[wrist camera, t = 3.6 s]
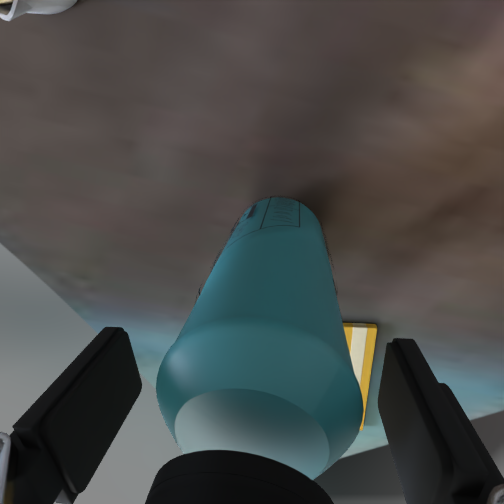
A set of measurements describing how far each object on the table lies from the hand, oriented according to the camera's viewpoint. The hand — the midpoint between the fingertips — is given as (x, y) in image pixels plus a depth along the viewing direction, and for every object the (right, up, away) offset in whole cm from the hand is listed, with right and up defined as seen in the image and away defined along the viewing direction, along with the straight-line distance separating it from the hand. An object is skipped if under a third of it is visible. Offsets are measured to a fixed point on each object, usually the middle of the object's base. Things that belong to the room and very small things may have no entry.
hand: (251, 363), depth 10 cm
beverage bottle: (+2, +6, +12) cm, 14 cm away
